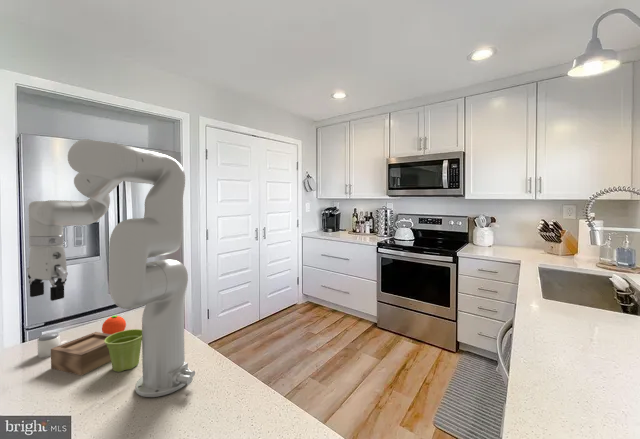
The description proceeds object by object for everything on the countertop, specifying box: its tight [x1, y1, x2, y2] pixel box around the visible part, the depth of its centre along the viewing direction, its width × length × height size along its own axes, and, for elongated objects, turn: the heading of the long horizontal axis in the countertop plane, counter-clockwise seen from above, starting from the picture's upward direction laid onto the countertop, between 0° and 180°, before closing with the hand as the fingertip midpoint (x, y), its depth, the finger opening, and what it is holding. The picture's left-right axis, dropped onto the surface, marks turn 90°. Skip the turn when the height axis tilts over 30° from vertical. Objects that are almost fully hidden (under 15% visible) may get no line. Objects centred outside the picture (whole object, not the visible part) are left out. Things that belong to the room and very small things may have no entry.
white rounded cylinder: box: [37, 331, 61, 359], centre depth 87 cm, size 5×5×6 cm
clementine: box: [101, 315, 127, 334], centre depth 101 cm, size 8×7×7 cm
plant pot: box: [104, 328, 142, 373], centre depth 80 cm, size 9×9×9 cm
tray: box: [50, 331, 112, 376], centre depth 83 cm, size 12×12×6 cm
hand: (47, 297), depth 87 cm, fingers open, 9 cm apart
